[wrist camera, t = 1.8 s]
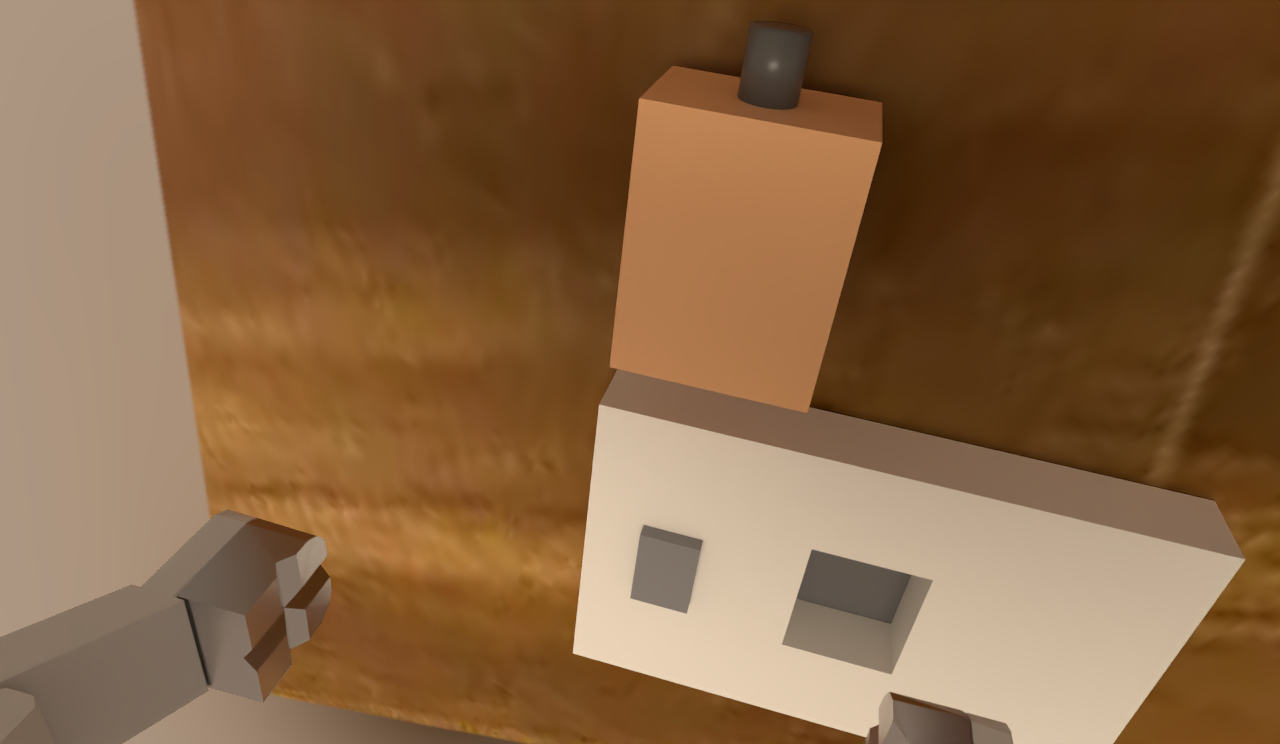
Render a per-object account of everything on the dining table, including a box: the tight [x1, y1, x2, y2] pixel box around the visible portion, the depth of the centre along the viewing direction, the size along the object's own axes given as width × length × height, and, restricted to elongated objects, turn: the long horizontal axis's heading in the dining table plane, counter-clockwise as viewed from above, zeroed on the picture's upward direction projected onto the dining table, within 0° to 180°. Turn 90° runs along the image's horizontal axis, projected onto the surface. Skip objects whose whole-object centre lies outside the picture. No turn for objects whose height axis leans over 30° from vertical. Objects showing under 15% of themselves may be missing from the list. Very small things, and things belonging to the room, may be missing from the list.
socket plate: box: [573, 369, 1245, 744], centre depth 33 cm, size 22×14×4 cm, turn 83°
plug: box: [610, 21, 882, 413], centre depth 24 cm, size 6×10×6 cm, turn 173°
